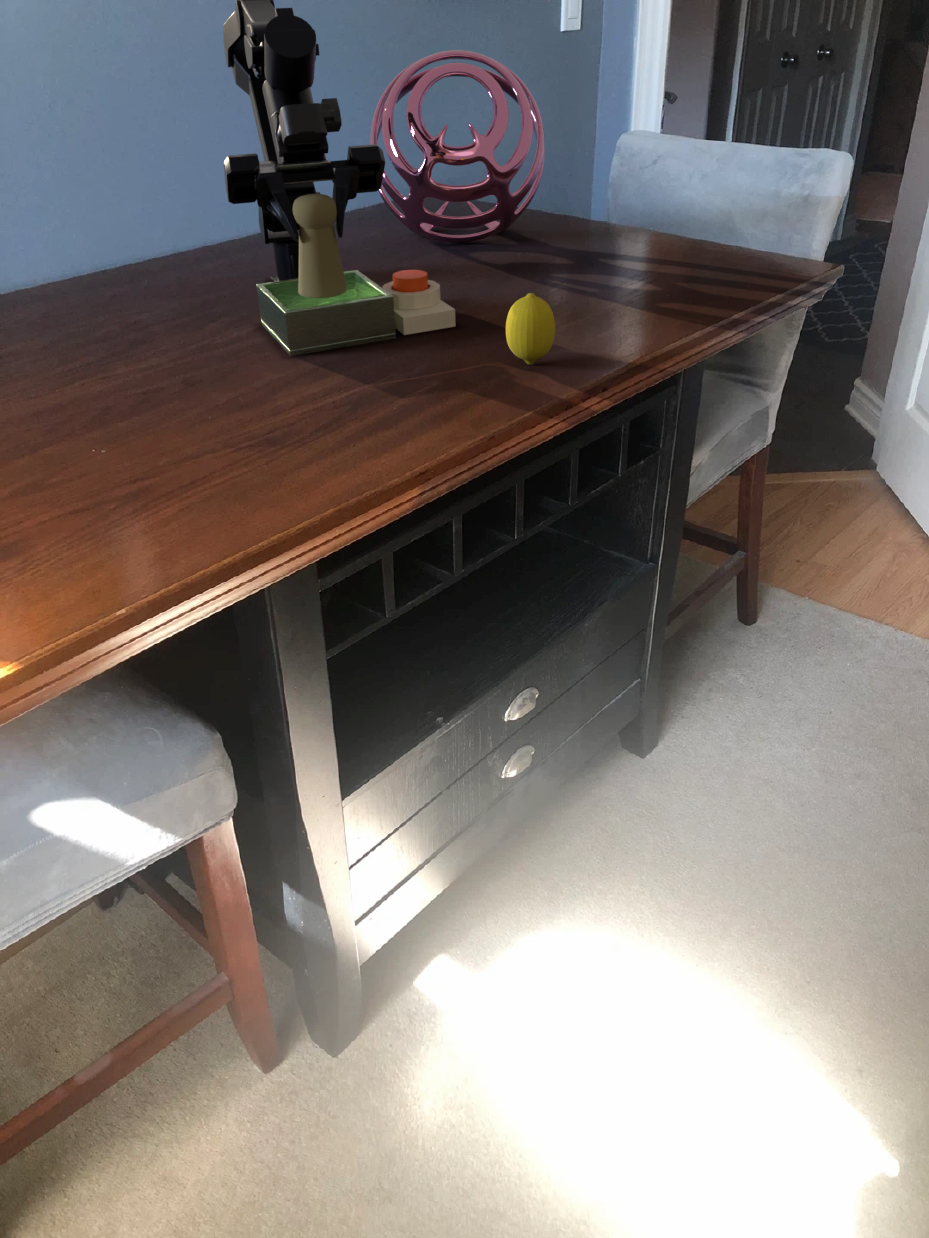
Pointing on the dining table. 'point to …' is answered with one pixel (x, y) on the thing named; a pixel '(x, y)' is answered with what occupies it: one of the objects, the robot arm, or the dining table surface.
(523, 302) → the lemon
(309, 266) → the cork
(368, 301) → the warming box
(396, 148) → the pink openwork sphere
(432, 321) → the control block
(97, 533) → the dining table surface
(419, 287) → the button
